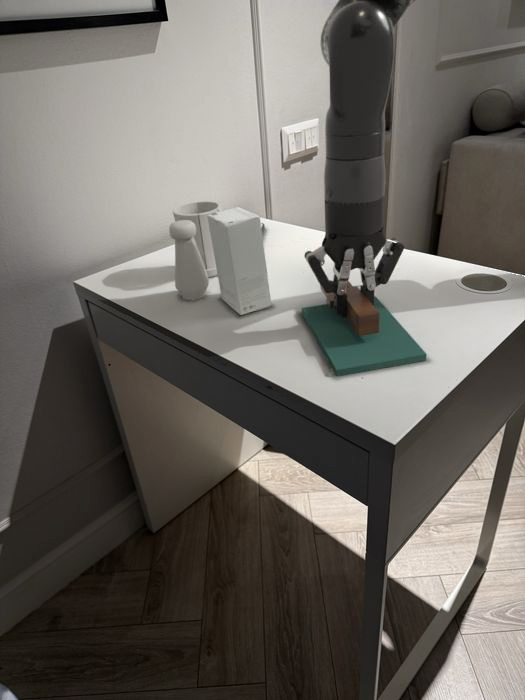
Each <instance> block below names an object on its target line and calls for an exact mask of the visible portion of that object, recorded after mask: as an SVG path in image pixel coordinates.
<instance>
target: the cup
mask: <svg viewBox="0 0 525 700" xmlns="http://www.w3.org/2000/svg"><path fill="white" fill-rule="evenodd" d="M220 211H223V206H222V204H221V203H220V202H218V201H213V200H200V201H191V202H187V203H183V204H181V205H178V206H176V207H175V208H173V210H172V214H173V218H174V222H176V221H180V220H190V221H192V222H193V223H195V226H196V235H195V236H194V239H195V242H196V245H197V247H198V250H199V253H200V256H201V259H202V261H203V264H204V267H205V270H206V273H207V275H208V278H214V277H216V276H217V277H218V274H217V269H216V263H215V257H214V252H213V246H212V240H211V235H210V229H209V224H208V218H207V215H209V214H213V213H217V212H220Z"/></svg>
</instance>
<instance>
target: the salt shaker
mask: <svg viewBox="0 0 525 700" xmlns="http://www.w3.org/2000/svg"><path fill="white" fill-rule="evenodd" d="M168 228H169V229H168V232H169V236H170V238H171V239H173V240H174V286H175V289H176V290H177V292H178V294H180V295H181V297H182V299H183V300H184V301H193V302H194V301H197V300H201V299H203V298H204V297H205V295H206V293H207V290H208V287H209V283H210V280H209V278H210V277H209V278H208V275H207V273H206V270H205V267H204V264H203V261H202V259H201V256H200V253H199V250H198V247H197V245H196V242H195V239H194V236H195V235H196V226H195V223H193V222H192V221H190V220H180V221H176V222H175V221H173V222H172V223H170V225H169V227H168Z"/></svg>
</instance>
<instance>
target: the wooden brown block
mask: <svg viewBox="0 0 525 700" xmlns="http://www.w3.org/2000/svg"><path fill="white" fill-rule="evenodd" d="M331 281H333V279H332V280H331ZM319 288H320V291H321V292H322V293H323V295H324V297H325V298H326V304H328V305H329V307H330V308H334V293H326V292H325V291H324V289H323V288H322V287H321V285H320V284H319ZM345 293H346V294H347V317H346V318H347V320H348V321H349V323H350V324H351V325H352V327H353V328H354V330H355V331H356V333H357V334H358V335H359V336H363V335H369V334H374V333H379V317H380V313H379V312H378V311H377V309H376V308H375V307H374V306H373V305H372V303H371V302H370V301H369V300H368V299H367V298H366V297H365V295H364V294H363V293H362V292H361V291H360V288H359V287H358V286H357V285H352V283H351V282H350V281H349V280H347V286H346V292H345Z"/></svg>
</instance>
